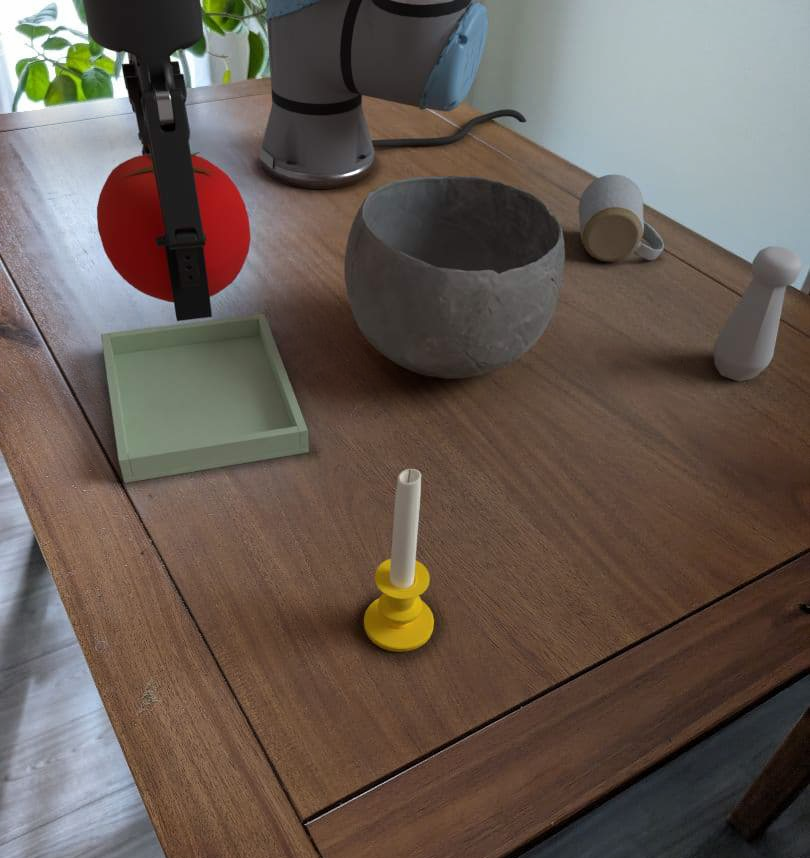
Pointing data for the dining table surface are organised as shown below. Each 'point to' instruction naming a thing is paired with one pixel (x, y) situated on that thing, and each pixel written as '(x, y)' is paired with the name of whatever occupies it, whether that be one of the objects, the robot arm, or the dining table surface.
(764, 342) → the salt shaker
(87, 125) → the dining table surface
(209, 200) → the tomato
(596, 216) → the ceramic mug
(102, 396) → the dining table surface
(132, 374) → the tray
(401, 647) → the candle
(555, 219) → the bowl
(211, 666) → the dining table surface
